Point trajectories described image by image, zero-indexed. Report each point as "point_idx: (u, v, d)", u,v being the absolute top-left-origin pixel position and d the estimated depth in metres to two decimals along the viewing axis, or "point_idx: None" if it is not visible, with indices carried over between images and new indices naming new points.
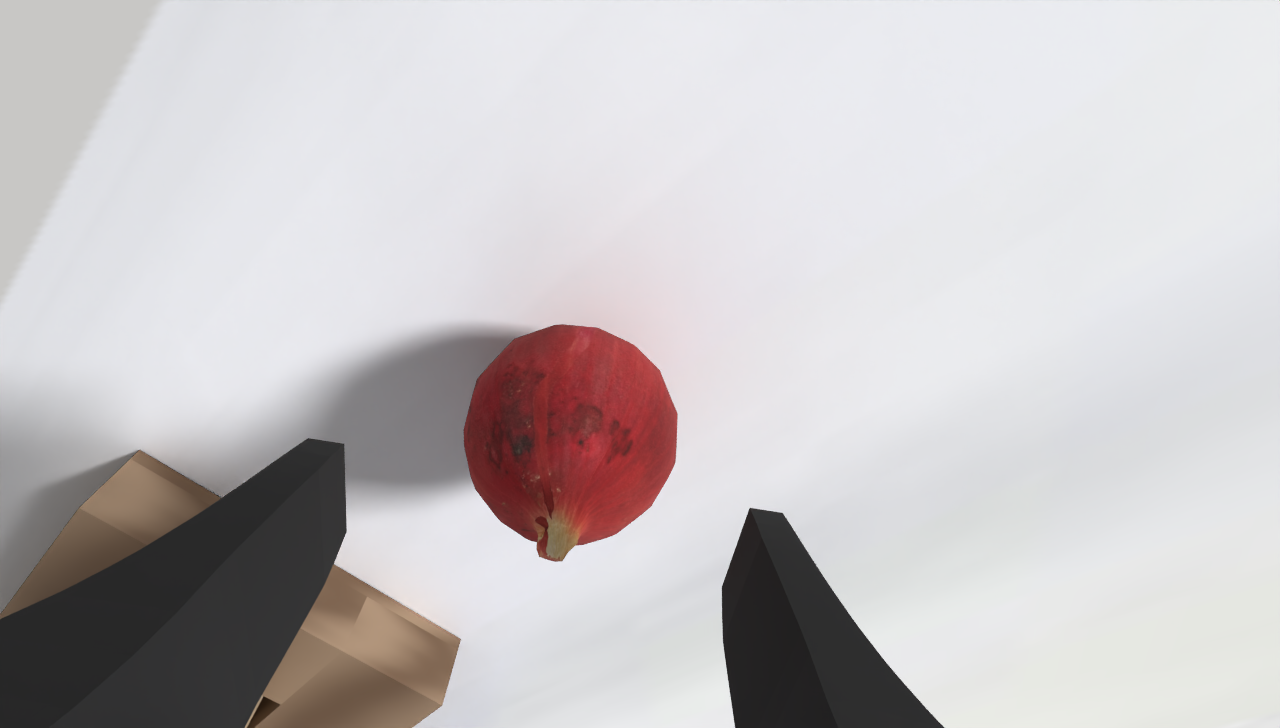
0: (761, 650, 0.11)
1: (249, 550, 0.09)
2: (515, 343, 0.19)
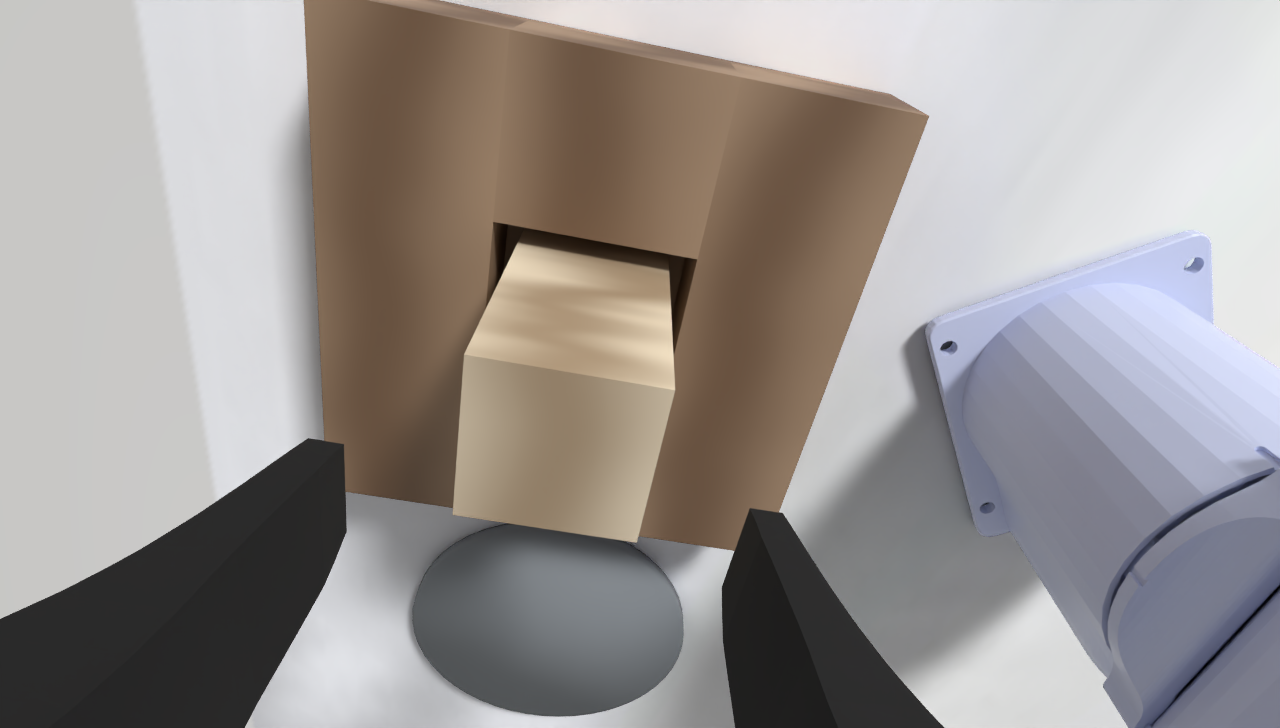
0: (761, 650, 0.11)
1: (249, 550, 0.09)
2: None
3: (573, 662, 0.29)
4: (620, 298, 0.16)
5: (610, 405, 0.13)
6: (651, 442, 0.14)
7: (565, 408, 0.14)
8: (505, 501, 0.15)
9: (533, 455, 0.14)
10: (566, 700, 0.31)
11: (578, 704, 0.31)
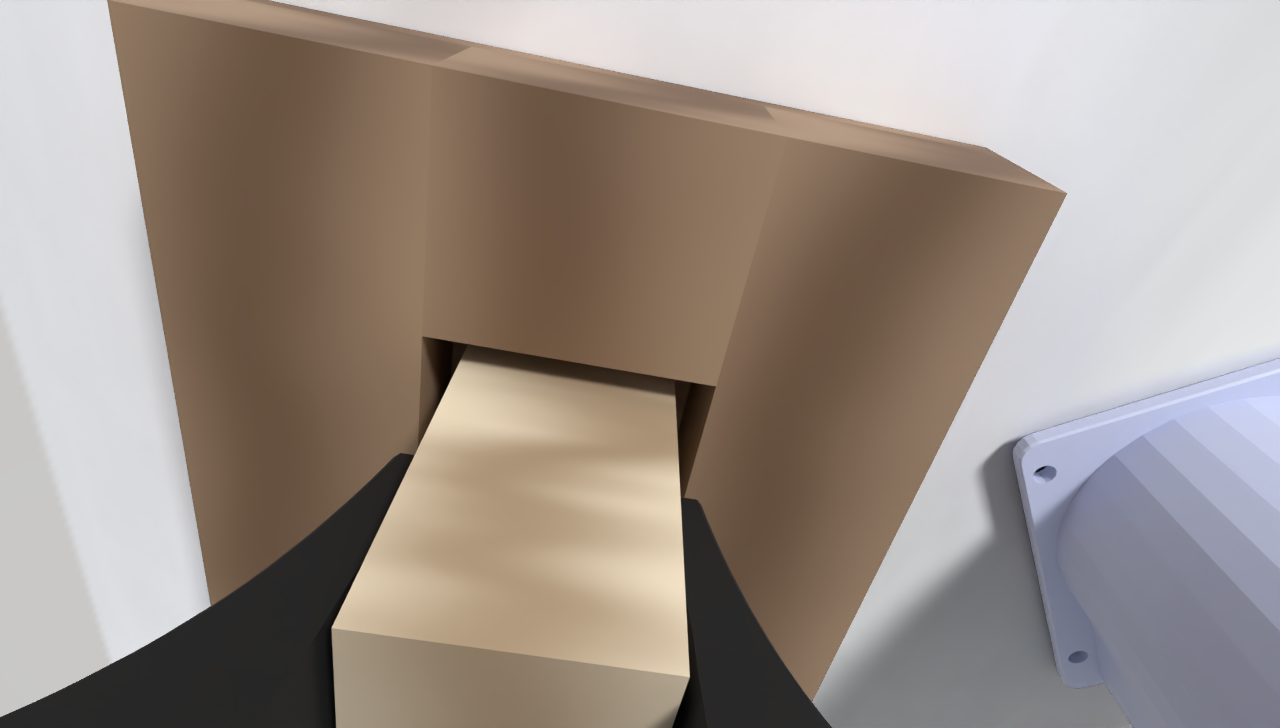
0: None
1: None
2: None
3: None
4: (604, 461, 0.11)
5: (583, 694, 0.08)
6: None
7: (506, 699, 0.08)
8: None
9: None
10: None
11: None
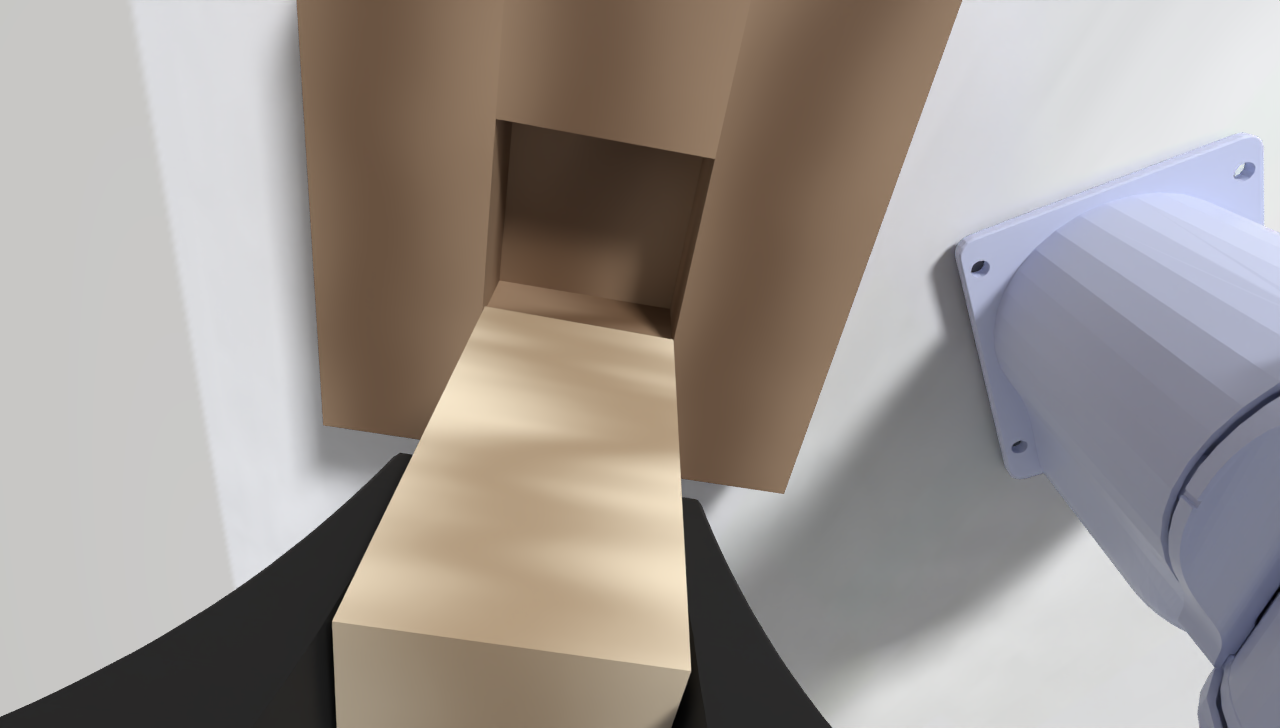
0: None
1: None
2: None
3: None
4: (604, 457, 0.11)
5: (584, 689, 0.08)
6: None
7: (508, 693, 0.08)
8: None
9: None
10: None
11: None
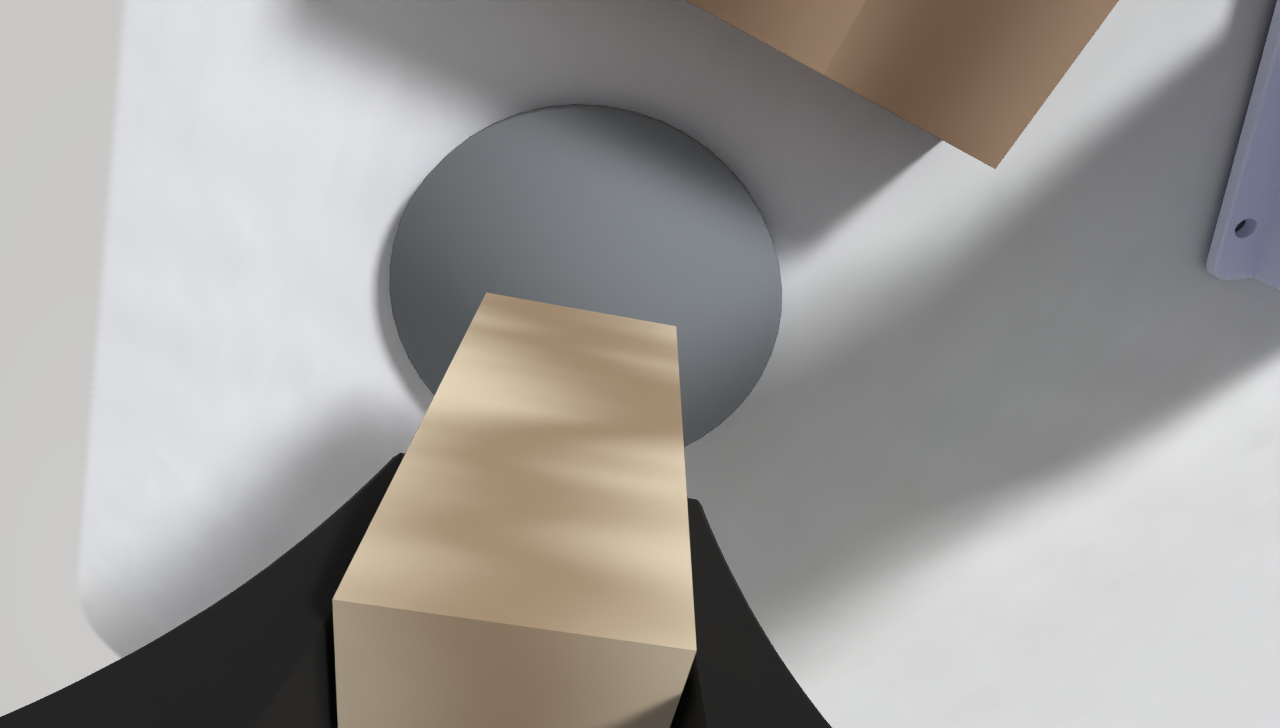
0: None
1: None
2: None
3: None
4: (607, 440, 0.11)
5: (588, 669, 0.08)
6: (655, 718, 0.08)
7: (510, 673, 0.08)
8: None
9: None
10: None
11: None
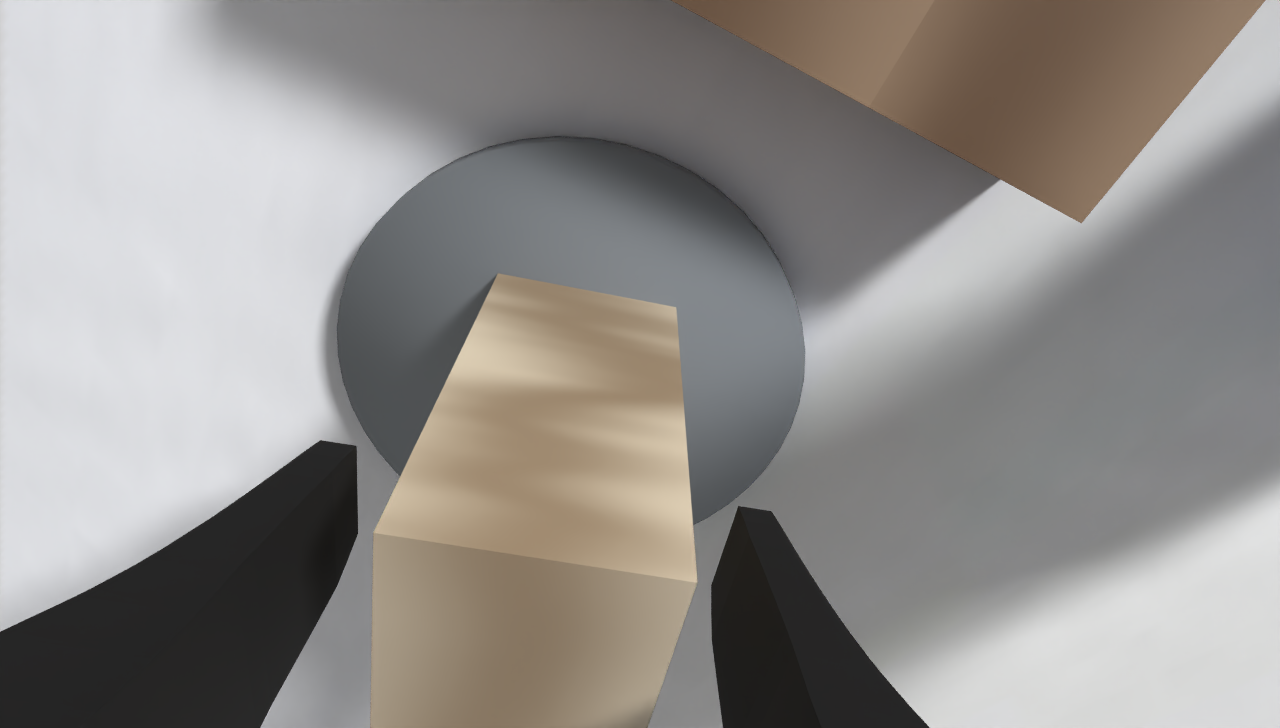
0: (748, 648, 0.11)
1: (265, 552, 0.09)
2: None
3: None
4: (615, 405, 0.12)
5: (600, 600, 0.09)
6: (659, 647, 0.09)
7: (530, 604, 0.09)
8: (445, 714, 0.10)
9: (485, 661, 0.10)
10: None
11: None
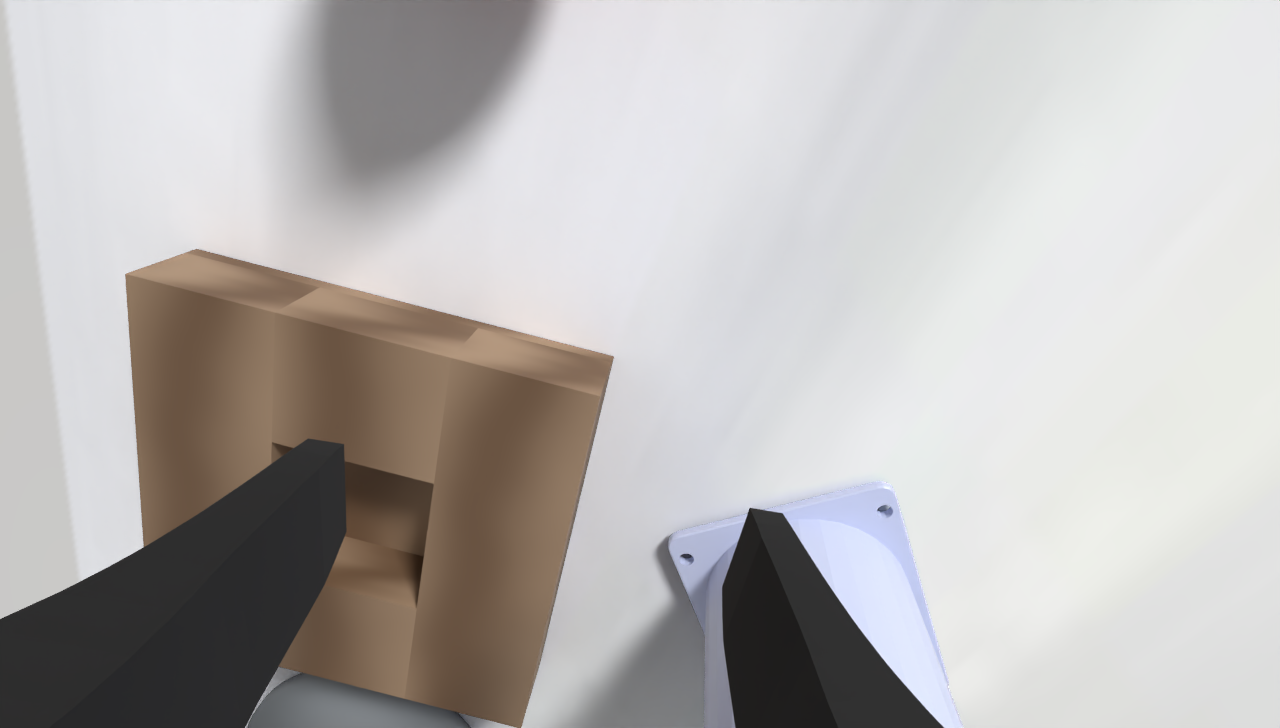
0: (761, 650, 0.11)
1: (249, 550, 0.09)
2: None
3: None
4: None
5: None
6: None
7: None
8: None
9: None
10: None
11: None
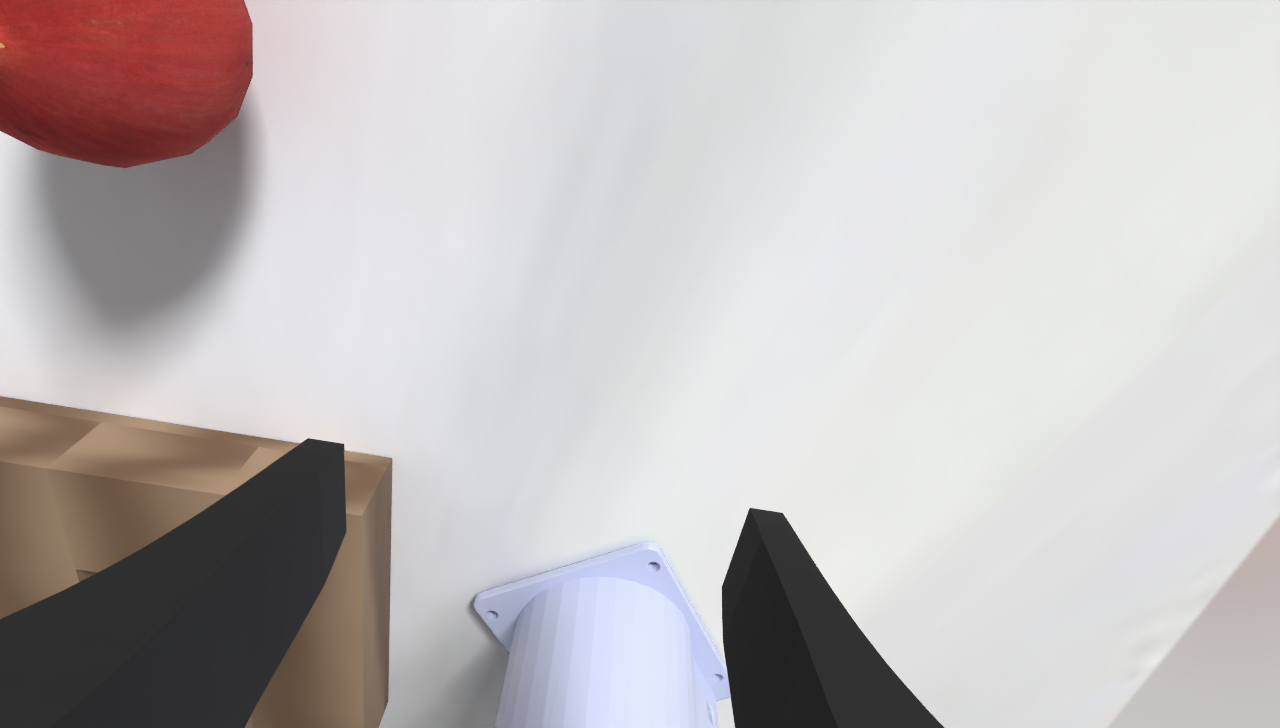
0: (761, 650, 0.11)
1: (249, 550, 0.09)
2: None
3: None
4: None
5: None
6: None
7: None
8: None
9: None
10: None
11: None
